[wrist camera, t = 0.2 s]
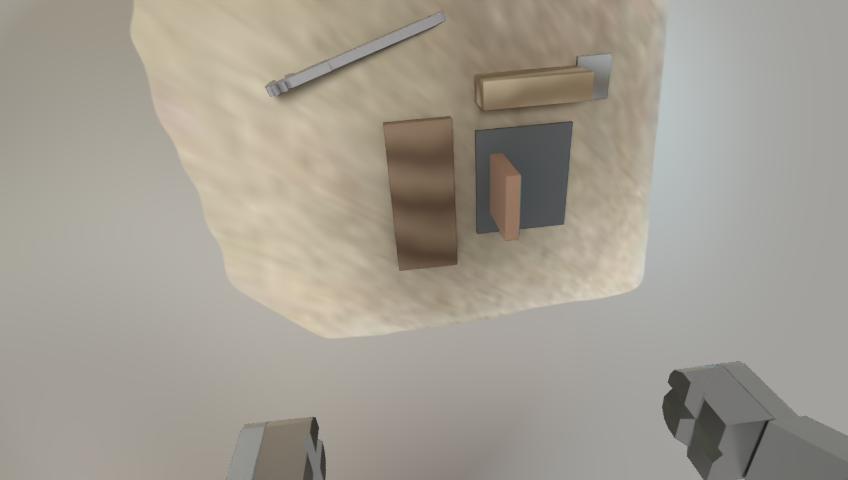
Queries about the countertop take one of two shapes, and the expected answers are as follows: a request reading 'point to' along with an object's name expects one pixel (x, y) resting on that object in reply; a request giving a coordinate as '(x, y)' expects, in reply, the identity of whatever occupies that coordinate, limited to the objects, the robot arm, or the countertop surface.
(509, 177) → the tile
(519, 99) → the scraper
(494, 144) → the mat
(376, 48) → the caliper
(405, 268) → the board
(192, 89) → the countertop surface
